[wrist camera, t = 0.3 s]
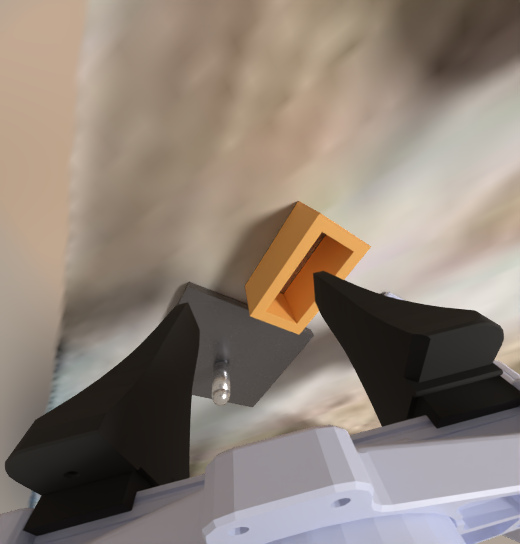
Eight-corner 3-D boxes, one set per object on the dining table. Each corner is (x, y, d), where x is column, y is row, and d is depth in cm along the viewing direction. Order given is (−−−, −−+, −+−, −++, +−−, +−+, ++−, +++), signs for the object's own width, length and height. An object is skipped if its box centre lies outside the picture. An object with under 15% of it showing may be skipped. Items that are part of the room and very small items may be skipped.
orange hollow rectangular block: (340, 228, 21) (371, 246, 17) (285, 303, 25) (299, 334, 20) (298, 200, 19) (319, 213, 15) (244, 286, 23) (249, 316, 18)
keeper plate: (310, 329, 27) (329, 366, 22) (252, 400, 32) (257, 442, 27) (189, 281, 22) (179, 317, 17) (140, 376, 27) (122, 424, 22)
